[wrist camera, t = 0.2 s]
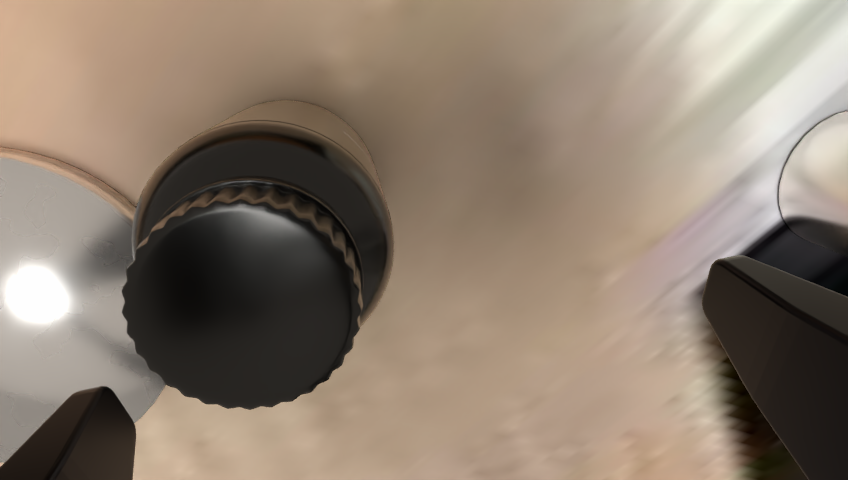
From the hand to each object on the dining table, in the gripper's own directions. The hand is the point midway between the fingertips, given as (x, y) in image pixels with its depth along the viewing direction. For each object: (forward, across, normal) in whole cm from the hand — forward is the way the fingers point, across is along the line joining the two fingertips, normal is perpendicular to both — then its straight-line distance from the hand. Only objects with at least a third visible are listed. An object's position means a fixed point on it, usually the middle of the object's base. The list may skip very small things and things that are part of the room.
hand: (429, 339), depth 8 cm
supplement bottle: (+15, +3, +5) cm, 16 cm away
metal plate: (+14, +15, +8) cm, 22 cm away
